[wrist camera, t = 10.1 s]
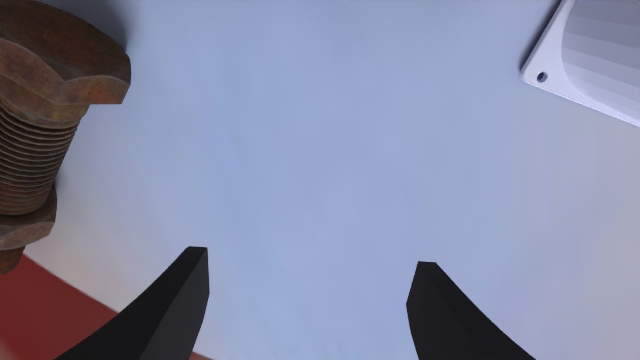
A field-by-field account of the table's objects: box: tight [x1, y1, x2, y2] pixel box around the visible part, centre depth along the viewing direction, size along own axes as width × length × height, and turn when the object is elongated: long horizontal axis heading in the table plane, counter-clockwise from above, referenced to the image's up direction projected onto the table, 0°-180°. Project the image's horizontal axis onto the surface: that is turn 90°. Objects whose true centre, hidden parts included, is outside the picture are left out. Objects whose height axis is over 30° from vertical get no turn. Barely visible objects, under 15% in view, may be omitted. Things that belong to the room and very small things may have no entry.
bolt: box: [0, 0, 131, 275], centre depth 19 cm, size 6×5×15 cm
